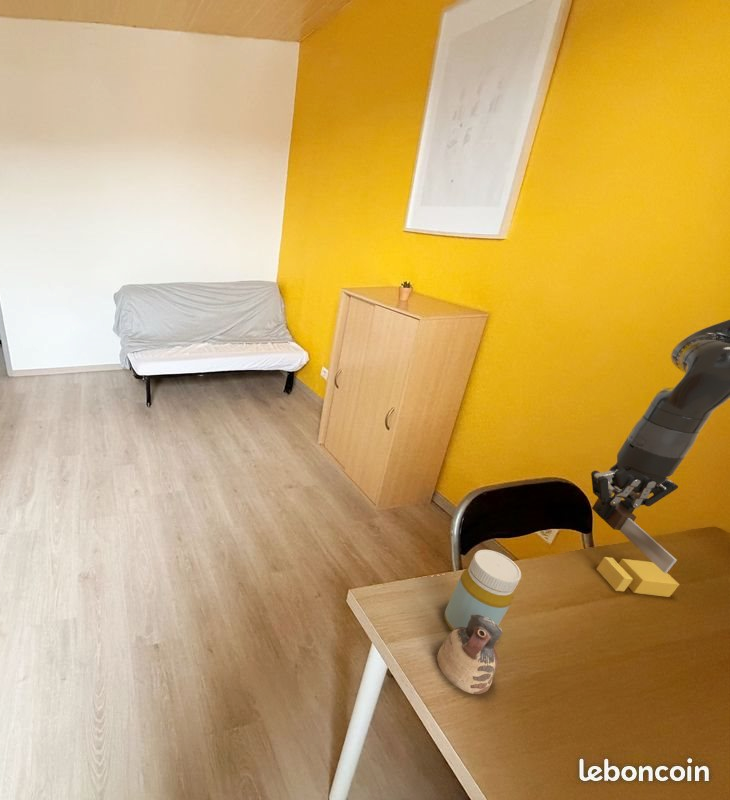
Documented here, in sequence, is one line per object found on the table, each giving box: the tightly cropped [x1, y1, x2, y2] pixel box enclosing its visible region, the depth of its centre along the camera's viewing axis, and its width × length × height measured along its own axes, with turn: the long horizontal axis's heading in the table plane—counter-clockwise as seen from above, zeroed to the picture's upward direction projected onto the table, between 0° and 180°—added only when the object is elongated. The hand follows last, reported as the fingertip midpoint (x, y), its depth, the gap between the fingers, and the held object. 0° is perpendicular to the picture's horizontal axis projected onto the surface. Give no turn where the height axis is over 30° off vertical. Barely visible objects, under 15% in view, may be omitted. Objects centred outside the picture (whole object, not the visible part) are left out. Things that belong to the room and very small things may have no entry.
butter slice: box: [596, 556, 633, 592], centre depth 78 cm, size 2×5×4 cm, turn 172°
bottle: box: [443, 549, 522, 632], centre depth 67 cm, size 7×7×15 cm
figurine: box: [436, 614, 504, 695], centre depth 61 cm, size 7×7×12 cm
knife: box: [591, 495, 678, 573], centre depth 77 cm, size 16×2×4 cm, turn 172°
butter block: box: [618, 558, 680, 598], centre depth 78 cm, size 6×5×4 cm
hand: (609, 516), depth 82 cm, fingers closed on knife, 2 cm apart
